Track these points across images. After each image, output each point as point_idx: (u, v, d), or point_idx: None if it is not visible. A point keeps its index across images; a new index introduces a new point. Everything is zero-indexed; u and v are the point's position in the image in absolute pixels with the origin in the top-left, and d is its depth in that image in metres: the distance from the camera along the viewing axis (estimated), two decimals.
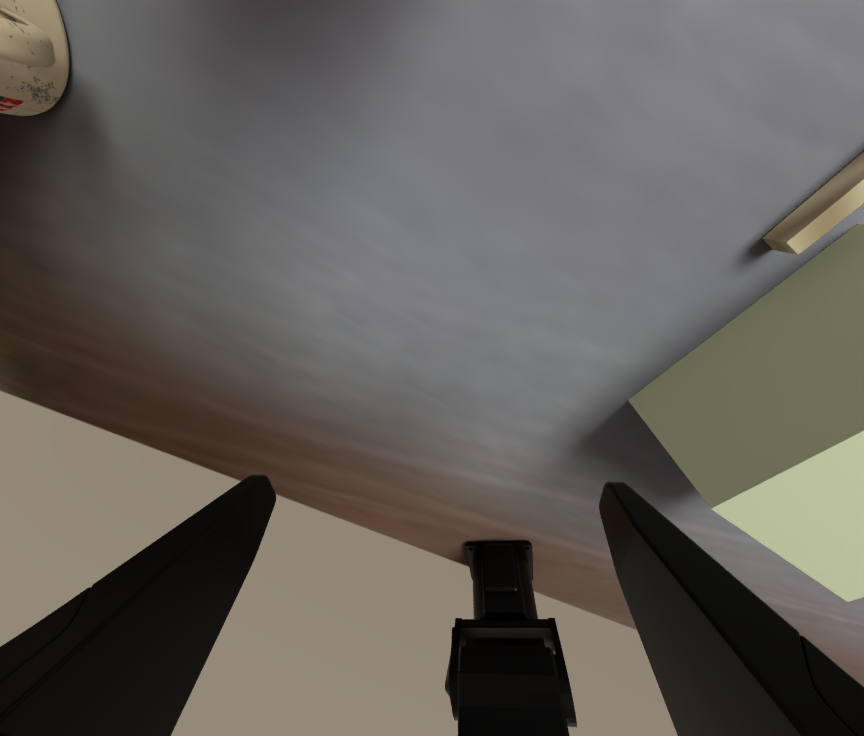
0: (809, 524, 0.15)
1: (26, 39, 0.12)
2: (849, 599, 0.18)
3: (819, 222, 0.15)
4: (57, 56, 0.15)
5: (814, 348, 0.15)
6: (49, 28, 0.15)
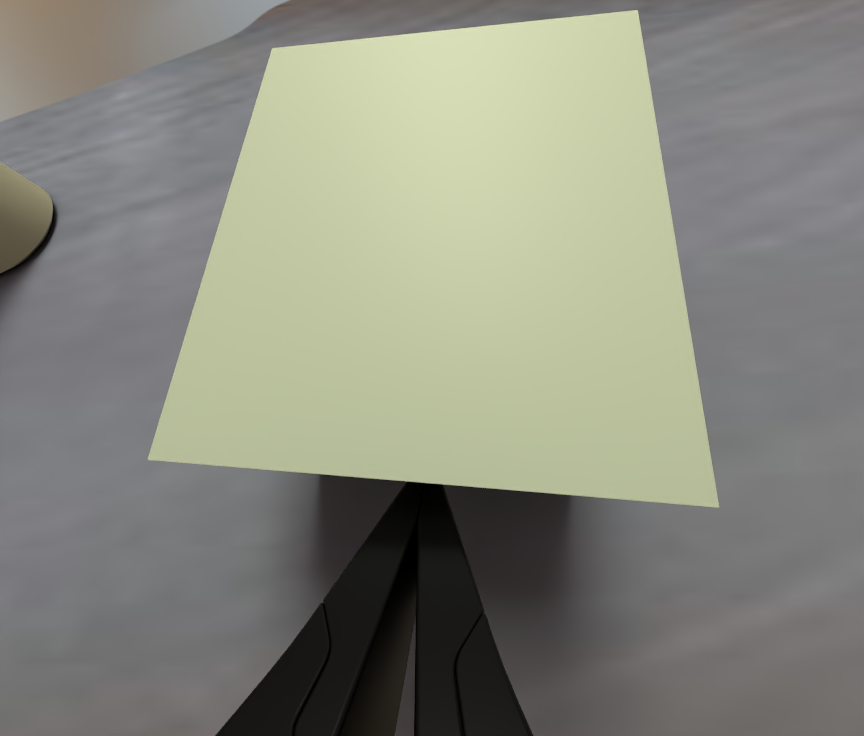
0: (331, 379, 0.07)
1: None
2: (707, 496, 0.06)
3: None
4: None
5: None
6: None
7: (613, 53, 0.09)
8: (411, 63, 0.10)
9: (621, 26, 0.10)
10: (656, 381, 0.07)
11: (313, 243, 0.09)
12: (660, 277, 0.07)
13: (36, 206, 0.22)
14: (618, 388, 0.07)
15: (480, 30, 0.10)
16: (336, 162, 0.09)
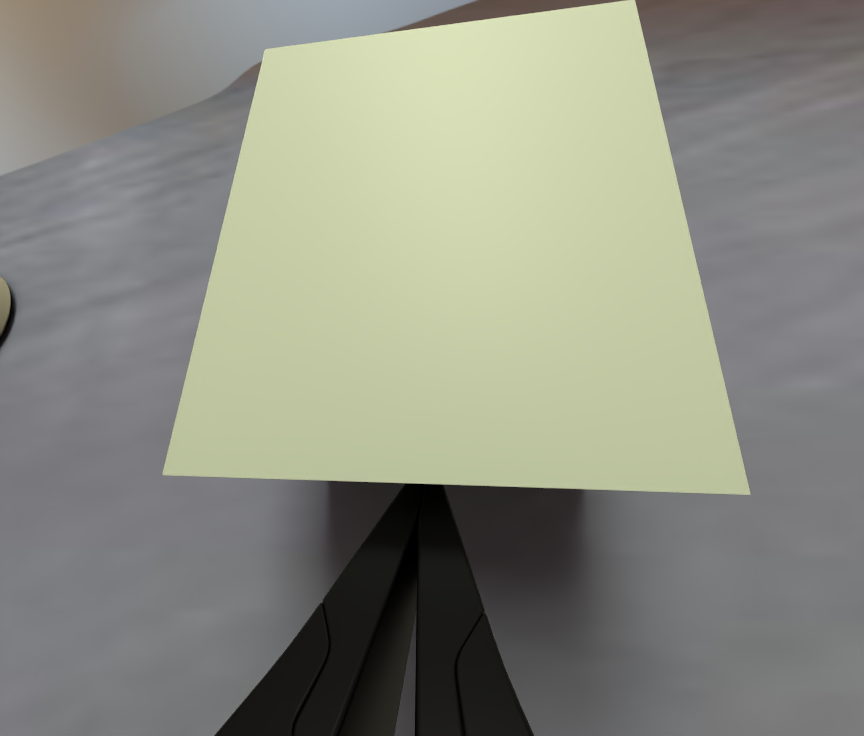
0: (348, 383, 0.07)
1: None
2: (738, 484, 0.06)
3: None
4: None
5: None
6: None
7: (612, 43, 0.09)
8: (409, 60, 0.10)
9: (619, 16, 0.09)
10: (678, 370, 0.07)
11: (320, 246, 0.08)
12: (676, 265, 0.07)
13: None
14: (641, 380, 0.07)
15: (477, 25, 0.10)
16: (338, 162, 0.09)
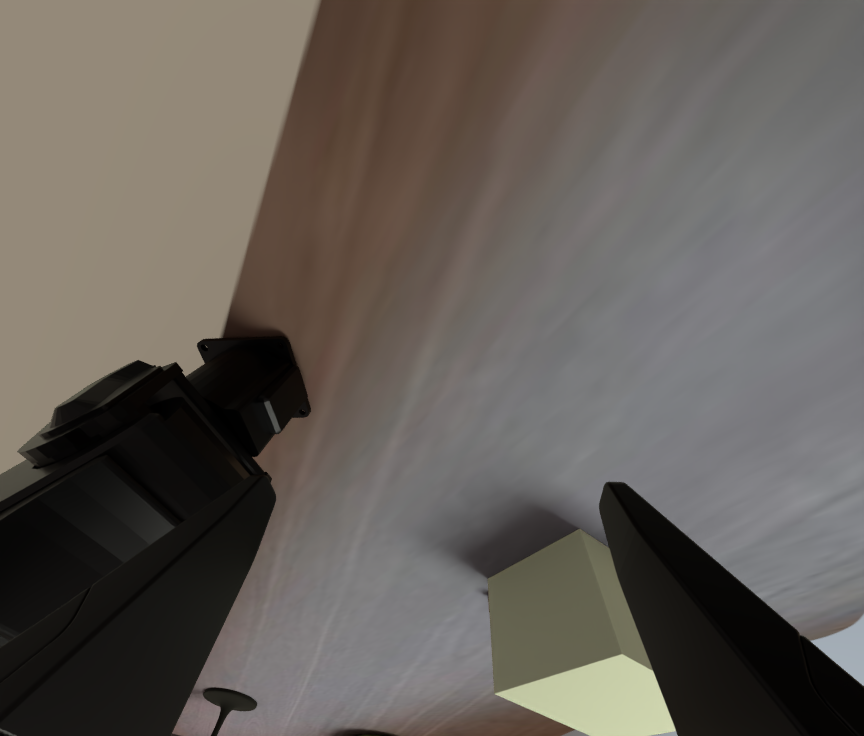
0: (590, 679, 0.23)
1: None
2: (497, 693, 0.26)
3: None
4: None
5: None
6: None
7: (601, 735, 0.28)
8: (666, 725, 0.26)
9: None
10: (522, 700, 0.26)
11: (637, 693, 0.23)
12: (539, 711, 0.27)
13: None
14: (527, 698, 0.26)
15: (652, 734, 0.27)
16: (658, 705, 0.24)
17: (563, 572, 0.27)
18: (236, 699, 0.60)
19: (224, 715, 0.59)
